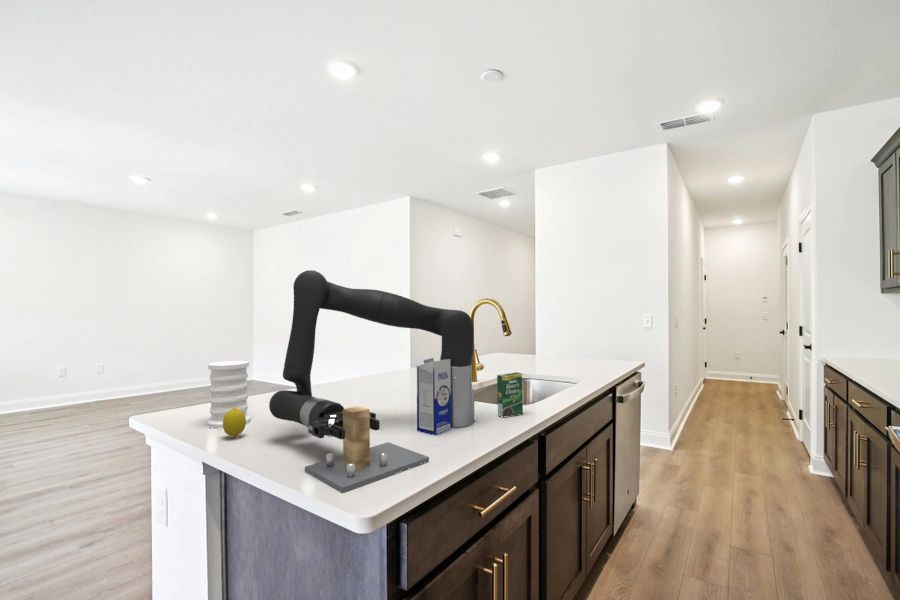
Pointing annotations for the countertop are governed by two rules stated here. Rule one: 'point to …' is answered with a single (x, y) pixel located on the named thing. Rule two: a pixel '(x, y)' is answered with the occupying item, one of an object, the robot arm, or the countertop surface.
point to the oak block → (356, 436)
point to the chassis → (382, 465)
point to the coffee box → (510, 394)
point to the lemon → (234, 422)
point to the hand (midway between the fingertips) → (361, 429)
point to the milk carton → (434, 396)
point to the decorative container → (227, 390)
